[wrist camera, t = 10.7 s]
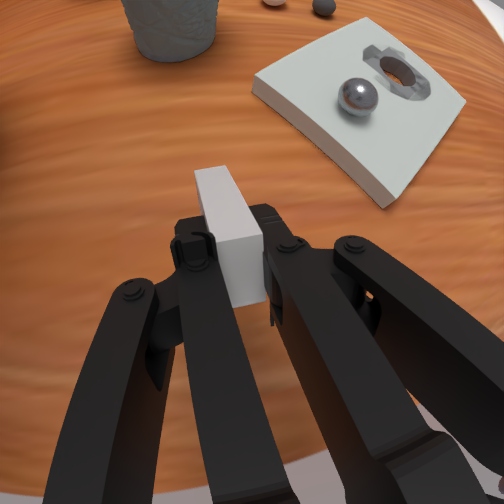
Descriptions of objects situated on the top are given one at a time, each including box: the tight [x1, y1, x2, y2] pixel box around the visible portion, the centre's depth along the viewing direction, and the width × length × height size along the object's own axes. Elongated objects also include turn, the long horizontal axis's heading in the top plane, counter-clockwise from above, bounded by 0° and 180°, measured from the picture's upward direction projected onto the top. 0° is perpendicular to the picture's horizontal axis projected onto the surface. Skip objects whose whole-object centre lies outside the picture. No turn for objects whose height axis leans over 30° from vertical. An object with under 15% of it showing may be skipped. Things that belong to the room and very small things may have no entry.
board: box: [252, 17, 466, 209], centre depth 28 cm, size 20×16×2 cm
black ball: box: [312, 0, 336, 16], centre depth 30 cm, size 3×3×3 cm
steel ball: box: [338, 77, 379, 117], centre depth 23 cm, size 4×4×4 cm
